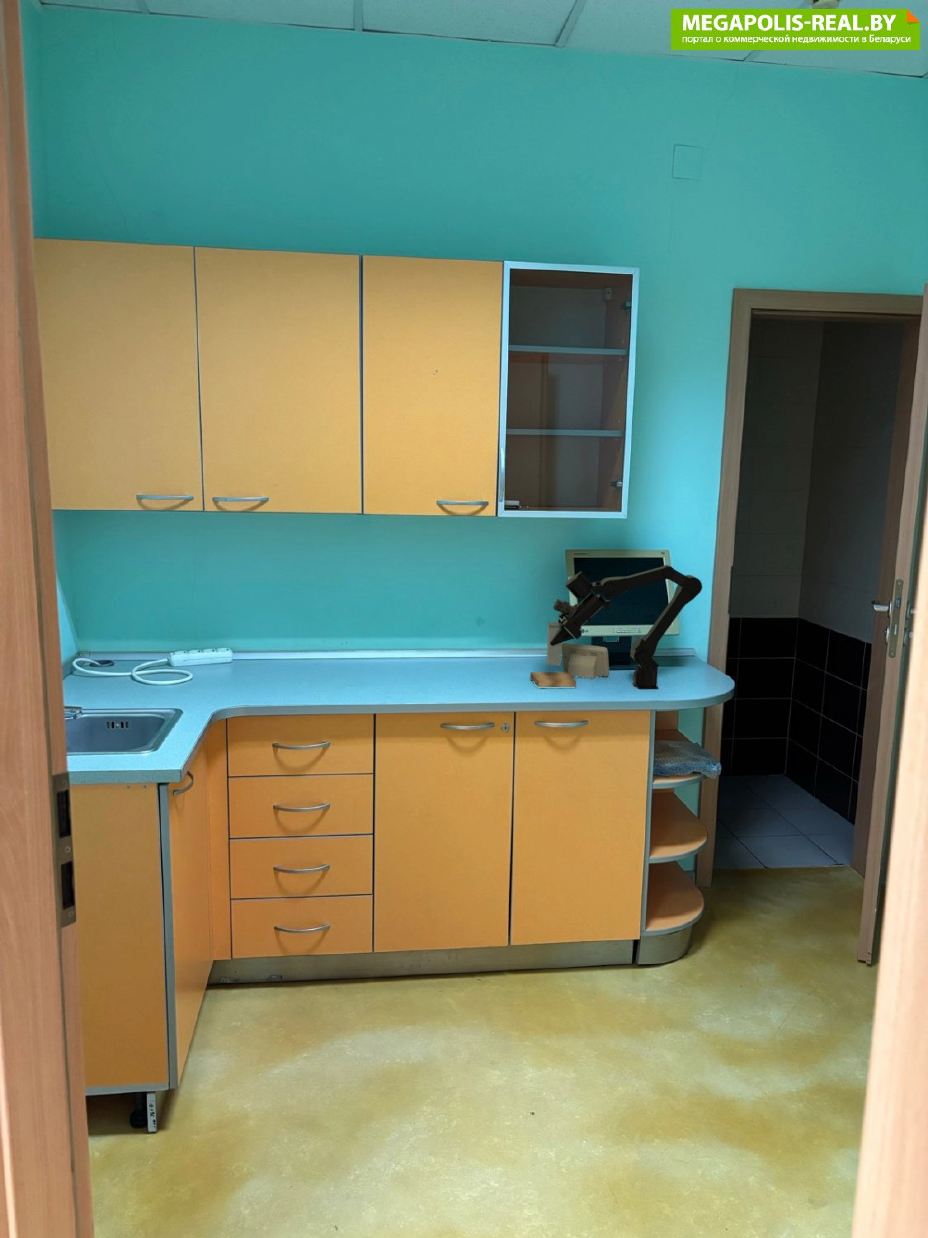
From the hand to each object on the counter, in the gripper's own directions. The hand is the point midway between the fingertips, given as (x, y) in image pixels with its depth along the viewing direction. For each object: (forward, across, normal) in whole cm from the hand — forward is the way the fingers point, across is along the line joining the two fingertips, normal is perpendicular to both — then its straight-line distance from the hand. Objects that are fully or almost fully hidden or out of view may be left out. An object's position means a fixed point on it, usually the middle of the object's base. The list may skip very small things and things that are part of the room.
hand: (550, 643), depth 294 cm
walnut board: (+9, -1, +10) cm, 14 cm away
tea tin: (+4, 0, +6) cm, 7 cm away
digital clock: (+1, -14, +19) cm, 23 cm away
